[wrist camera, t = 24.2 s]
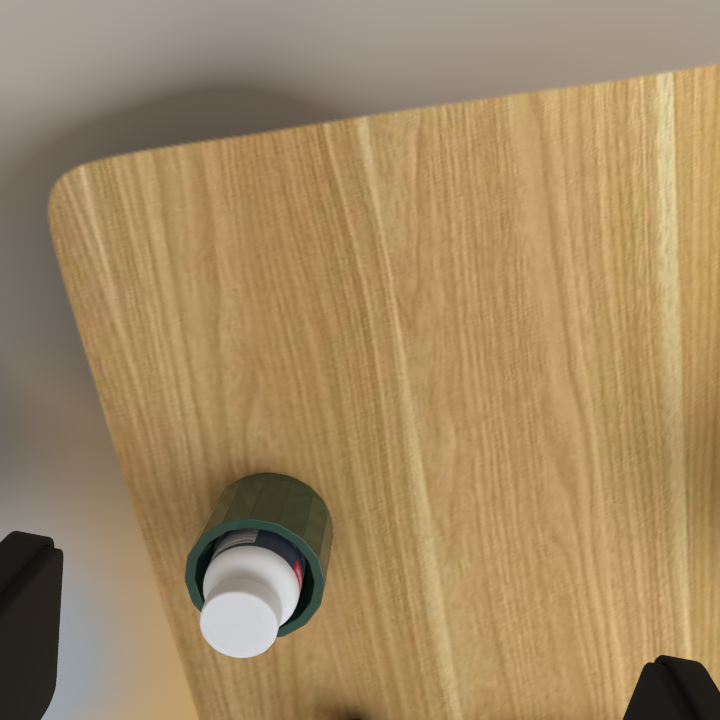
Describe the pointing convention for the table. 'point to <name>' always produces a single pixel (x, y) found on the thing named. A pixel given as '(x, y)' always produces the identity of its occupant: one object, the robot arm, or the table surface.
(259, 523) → the cup
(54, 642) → the robot arm
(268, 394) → the table surface
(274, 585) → the pill bottle
